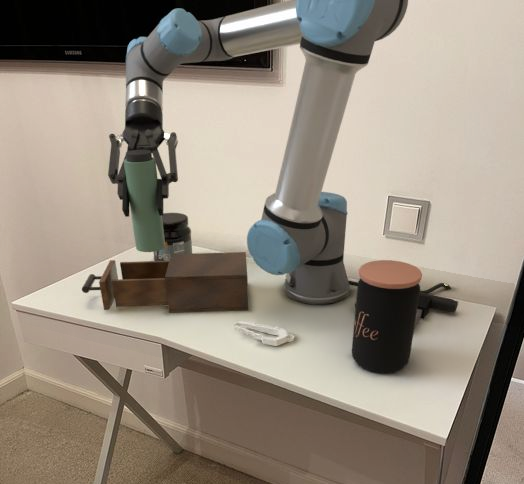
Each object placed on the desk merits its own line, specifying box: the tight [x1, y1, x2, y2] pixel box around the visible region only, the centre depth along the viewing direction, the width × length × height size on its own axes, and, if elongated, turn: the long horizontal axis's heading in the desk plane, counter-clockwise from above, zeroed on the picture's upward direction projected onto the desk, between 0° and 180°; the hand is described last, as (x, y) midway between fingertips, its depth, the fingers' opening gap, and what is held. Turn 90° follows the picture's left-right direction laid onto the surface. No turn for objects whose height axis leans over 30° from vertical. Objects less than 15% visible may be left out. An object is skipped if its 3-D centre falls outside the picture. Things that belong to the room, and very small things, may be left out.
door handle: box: [354, 292, 459, 326], centre depth 117 cm, size 3×20×16 cm
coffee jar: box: [351, 259, 423, 375], centre depth 97 cm, size 11×11×18 cm
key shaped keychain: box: [233, 320, 295, 347], centre depth 109 cm, size 13×5×2 cm, turn 69°
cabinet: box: [165, 251, 249, 314], centre depth 123 cm, size 18×14×9 cm
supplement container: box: [152, 212, 193, 261], centre depth 142 cm, size 10×10×12 cm
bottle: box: [123, 150, 165, 253], centre depth 108 cm, size 6×6×19 cm
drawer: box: [81, 259, 169, 311], centre depth 122 cm, size 21×12×7 cm, turn 93°
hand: (143, 212), depth 105 cm, fingers closed on bottle, 6 cm apart
